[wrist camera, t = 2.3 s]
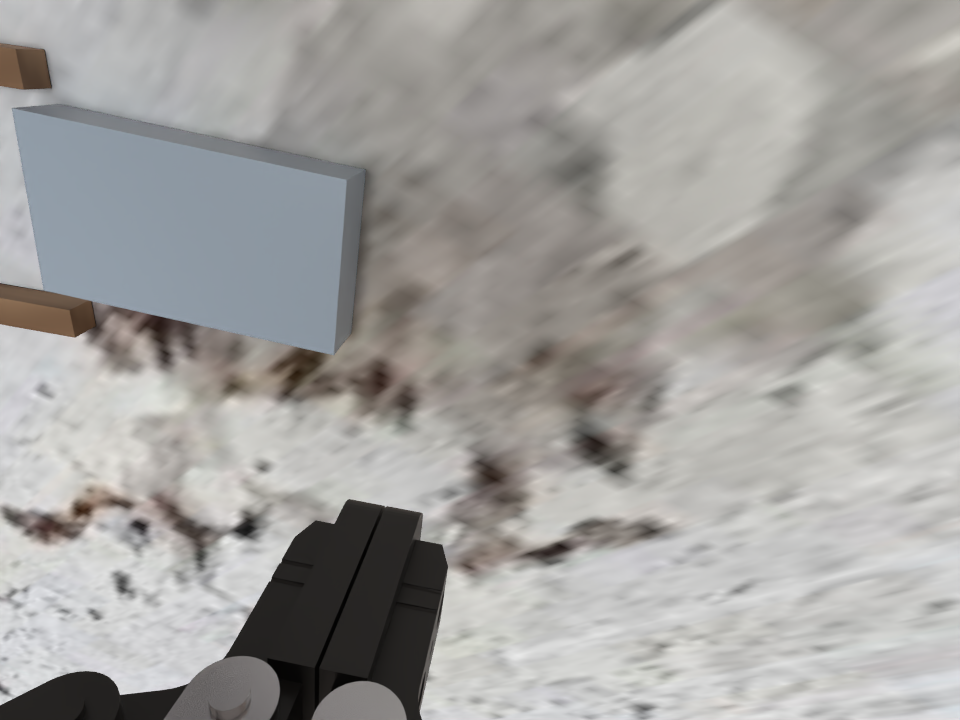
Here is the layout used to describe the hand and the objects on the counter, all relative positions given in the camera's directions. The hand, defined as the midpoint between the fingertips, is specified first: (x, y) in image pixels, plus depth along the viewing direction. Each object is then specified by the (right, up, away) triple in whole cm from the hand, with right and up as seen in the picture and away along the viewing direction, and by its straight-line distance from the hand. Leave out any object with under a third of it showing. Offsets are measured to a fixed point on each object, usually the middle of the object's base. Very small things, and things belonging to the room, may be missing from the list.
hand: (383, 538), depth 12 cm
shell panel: (-10, +10, +16) cm, 22 cm away
